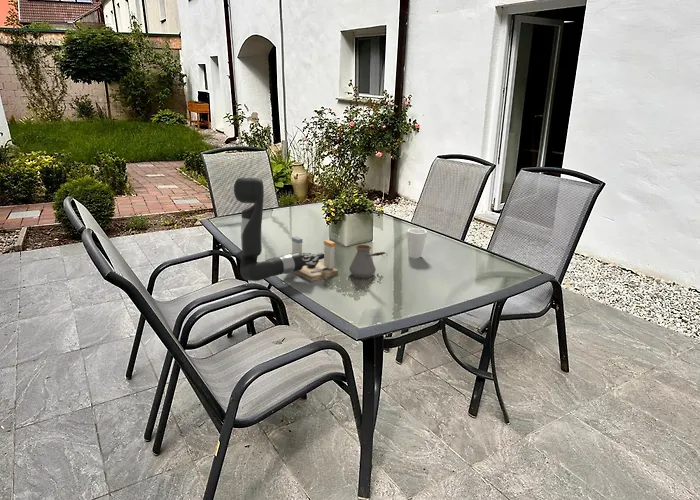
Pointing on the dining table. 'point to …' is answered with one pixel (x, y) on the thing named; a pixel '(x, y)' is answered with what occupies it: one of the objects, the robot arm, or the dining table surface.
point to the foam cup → (416, 242)
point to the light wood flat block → (316, 271)
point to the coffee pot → (363, 262)
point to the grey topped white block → (297, 245)
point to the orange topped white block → (329, 254)
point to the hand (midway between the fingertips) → (323, 255)
